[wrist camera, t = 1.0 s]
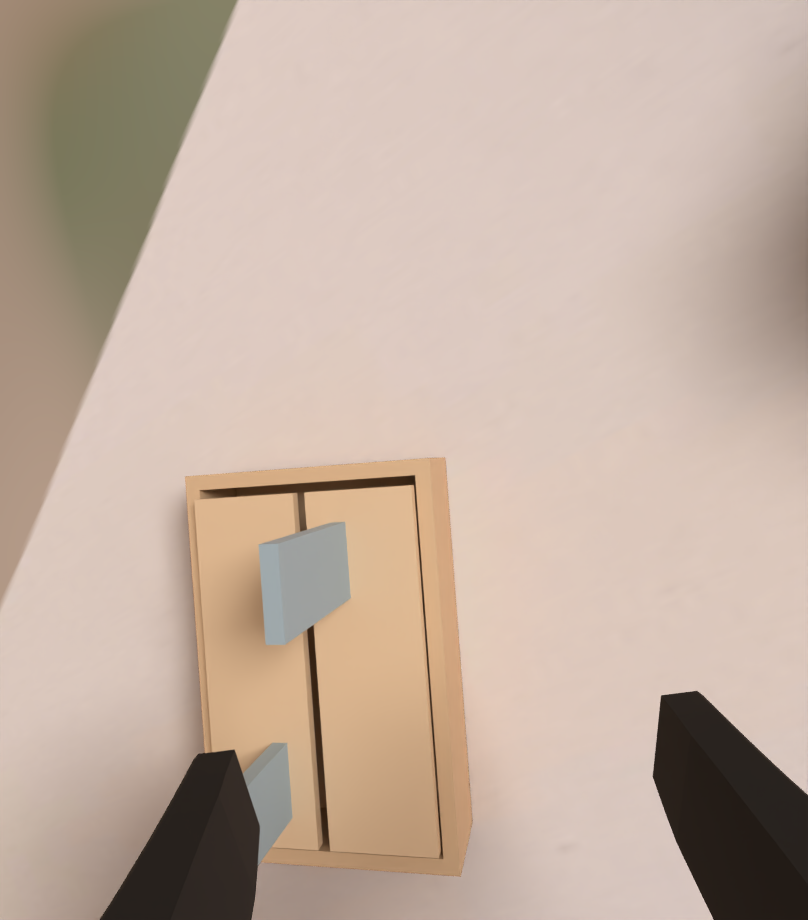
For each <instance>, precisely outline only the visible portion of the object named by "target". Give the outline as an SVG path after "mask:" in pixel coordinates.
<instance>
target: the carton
mask: <svg viewBox="0 0 808 920" xmlns="http://www.w3.org/2000/svg"><path fill="white" fill-rule="evenodd" d="M185 482H186V496H187V510H188V525H189V539H190V553H191V567H192V581H193V595H194V609H195V623H196V637H197V651H198V665H199V679H200V693H201V708H202V722H203V736H204V750H205V753H210V752H212V744H211V730H210V716H209V702H208V688H207V674H206V660H205V646H204V632H203V618H202V604H201V590H200V576H199V561H198V547H197V533H196V519H195V505H194V500H198V499H210V498H225V497H240V496H255V495H270V494H285V493H297V496H298V510H299V524H300V532H301V531H305V530H307V525H306V511H305V498H304V493H305V492H315V491H330V490H345V489H360V488H375V487H390V486H405V485H414V493H415V507H416V520H417V534H418V547H419V561H420V575H421V588H422V602H423V615H424V629H425V642H426V656H427V669H428V683H429V696H430V710H431V723H432V737H433V750H434V764H435V777H436V791H437V804H438V818H439V832H440V845H441V852H440V855H439V858H426V857H410V856H395V855H380V854H365V853H350V852H334V851H330V842H329V829H328V815H327V801H326V787H325V773H324V760H323V746H322V732H321V718H320V704H319V691H318V677H317V663H316V649H315V636H314V625H312V626H311V627H309V628H308V629H307V634H308V648H309V662H310V676H311V690H312V703H313V717H314V731H315V745H316V759H317V772H318V786H319V800H320V814H321V828H322V841H323V843H322V845H321V847H320V848H319V850H304V849H289V848H274V847H271V848H270V850H269V851H268V853H267V854H266V855H265V857H264V858H263V860H262V861H261V862H264V863H278V864H292V865H306V866H320V867H334V868H348V869H362V870H376V871H390V872H404V873H418V874H432V875H446V876H460V877H461V872H462V868H463V863H464V859H465V854H466V850H467V845H468V841H469V836H470V832H471V827H472V811H471V797H470V784H469V770H468V757H467V744H466V730H465V717H464V703H463V690H462V676H461V663H460V649H459V636H458V622H457V609H456V596H455V582H454V569H453V555H452V542H451V528H450V515H449V501H448V488H447V475H446V461H445V458H424V459H411V460H398V461H384V462H371V463H358V464H345V465H331V466H318V467H305V468H292V469H279V470H265V471H252V472H239V473H226V474H213V475H199V476H186V477H185Z"/></svg>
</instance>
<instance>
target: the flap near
mask: <svg viewBox="0 0 808 920" xmlns="http://www.w3.org/2000/svg"><path fill="white" fill-rule="evenodd" d="M304 498H305V511H306V525H307V530H305V531H301V532H298V533H295V534H291V535H288V536H285V537H282V538H278V539H275V540H272V541H269V542H265V543H262V544H259V559H260V572H261V586H262V600H263V614H264V628H265V642H266V645H286V644H287V643H288V642H290V641H291V640H293V639H294V638H295V637H297V636H298V635H300V634H301V633H302V632H304V631H305V630H307V629H308V628H309V627H311V626H312V625H314V636H315V649H316V663H317V677H318V691H319V704H320V718H321V732H322V746H323V760H324V773H325V787H326V801H327V815H328V829H329V842H330V851H334V852H350V853H365V854H380V855H395V856H410V857H426V858H439V855H440V852H441V845H440V832H439V818H438V804H437V791H436V777H435V764H434V750H433V737H432V723H431V710H430V696H429V683H428V669H427V656H426V642H425V629H424V615H423V602H422V588H421V575H420V561H419V547H418V534H417V520H416V507H415V493H414V485H405V486H390V487H375V488H360V489H345V490H330V491H315V492H305V493H304Z"/></svg>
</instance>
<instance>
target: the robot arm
mask: <svg viewBox="0 0 808 920" xmlns="http://www.w3.org/2000/svg"><path fill="white" fill-rule="evenodd" d="M653 779H654V781H655V784H656V787H657V790H658V793H659V796H660V798H661V801H662V804H663V807H664V810H665V813H666V815H667V818H668V821H669V823H670V826H671V829H672V831H673V834H674V837H675V839H676V842H677V844H678V846H679V848H680V850H681V853H682V855H683V857H684V859H685V861H686V863H687V865H688V867H689V869H690V871H691V873H692V876H693V878H694V880H695V882H696V884H697V886H698V888H699V890H700V892H701V894H702V896H703V898H704V900H705V902H706V905H707V907H708V909H709V911H710V913H711V915H712V917H713V919H714V920H808V795H807V794H806V793H805V792H804V791H803V790H802V789H800V788H799V787H798V786H797V785H796V784H795V783H794V782H793V781H792V780H790V779H789V778H788V777H787V776H786V775H785V774H784V773H783V772H782V771H781V770H780V769H779V768H777V767H776V766H775V765H774V764H773V763H772V762H771V761H770V760H769V759H768V758H767V757H766V756H765V755H764V754H763V753H762V752H761V751H760V750H758V749H757V748H756V747H755V746H754V745H753V744H752V743H751V742H750V741H749V740H748V739H747V738H746V737H745V736H744V735H743V734H742V733H741V732H740V731H739V730H738V729H737V728H736V727H735V726H734V725H733V724H731V723H730V722H729V721H728V720H727V719H726V718H725V717H724V716H723V715H722V714H721V713H720V712H719V711H718V710H717V709H716V708H715V707H714V706H713V705H712V704H711V703H710V702H709V701H708V700H707V699H706V698H705V697H704V696H703V695H702V694H700V693H699V692H698V691H693V692H685V693H677V694H669V695H662V696H661V702H660V712H659V722H658V732H657V742H656V751H655V761H654V771H653ZM259 838H260V825H259V822H258V819H257V816H256V813H255V810H254V807H253V803H252V800H251V797H250V794H249V791H248V788H247V785H246V782H245V779H244V776H243V773H242V770H241V767H240V764H239V761H238V758H237V755H236V752H235V749H234V750H226V751H218V752H210V753H203V754H198V755H197V756H196V758H195V759H194V760H193V762H192V764H191V765H190V767H189V769H188V771H187V773H186V775H185V777H184V778H183V780H182V782H181V784H180V786H179V788H178V789H177V791H176V793H175V795H174V797H173V799H172V800H171V802H170V804H169V806H168V807H167V809H166V811H165V813H164V815H163V816H162V818H161V820H160V822H159V823H158V825H157V827H156V829H155V830H154V832H153V834H152V835H151V837H150V839H149V841H148V842H147V844H146V846H145V847H144V849H143V851H142V852H141V854H140V856H139V857H138V859H137V861H136V862H135V864H134V866H133V867H132V869H131V871H130V872H129V874H128V875H127V877H126V879H125V880H124V882H123V884H122V885H121V887H120V889H119V890H118V892H117V894H116V895H115V897H114V898H113V900H112V902H111V903H110V905H109V906H108V908H107V909H106V911H105V912H104V914H103V915H102V917H101V918H100V920H251V918H252V912H253V906H254V900H255V893H256V880H257V868H258V853H259Z"/></svg>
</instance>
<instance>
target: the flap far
mask: <svg viewBox="0 0 808 920" xmlns="http://www.w3.org/2000/svg"><path fill="white" fill-rule="evenodd" d="M194 505H195V519H196V533H197V547H198V561H199V576H200V590H201V604H202V618H203V632H204V646H205V660H206V674H207V688H208V702H209V716H210V730H211V744H212V752H218V751H226V750H234V749H235V752H236V755H237V758H238V761H239V764H240V767H241V770H242V773H243V776H244V779H245V782H246V785H247V788H248V791H249V794H250V797H251V800H252V803H253V807H254V810H255V813H256V816H257V819H258V822H259V825H260V838H259V853H258V865H259V864H260V862H261V861H262V860H263V858H264V857H265V855H266V854H267V853H268V851H269V850H270V848H271V847H274V848H289V849H304V850H319V848H320V847H321V845H322V843H323V841H322V828H321V814H320V800H319V786H318V772H317V759H316V745H315V731H314V717H313V703H312V690H311V676H310V662H309V648H308V634H307V630H305V631H304V632H302V633H301V634H300V635H298V636H297V637H295V638H294V639H293V640H291V641H290V642H288V643H287V644H286V645H266V642H265V628H264V614H263V600H262V586H261V572H260V559H259V544H262V543H265V542H269V541H272V540H275V539H278V538H282V537H285V536H288V535H291V534H295V533H298V532H300V524H299V510H298V496H297V493H285V494H270V495H255V496H240V497H225V498H210V499H198V500H194Z"/></svg>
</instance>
